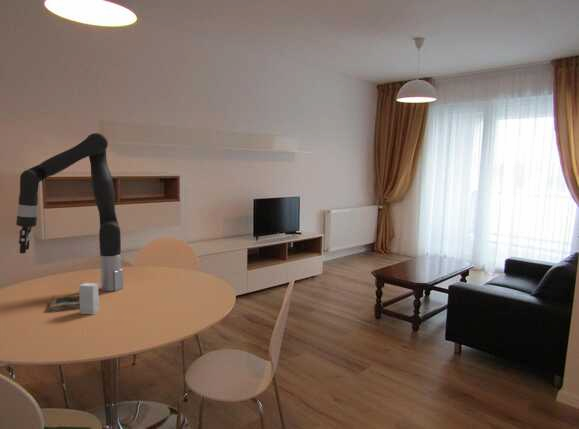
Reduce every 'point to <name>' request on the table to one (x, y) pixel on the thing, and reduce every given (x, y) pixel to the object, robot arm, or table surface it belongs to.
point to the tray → (65, 303)
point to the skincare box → (89, 298)
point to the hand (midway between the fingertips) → (24, 251)
